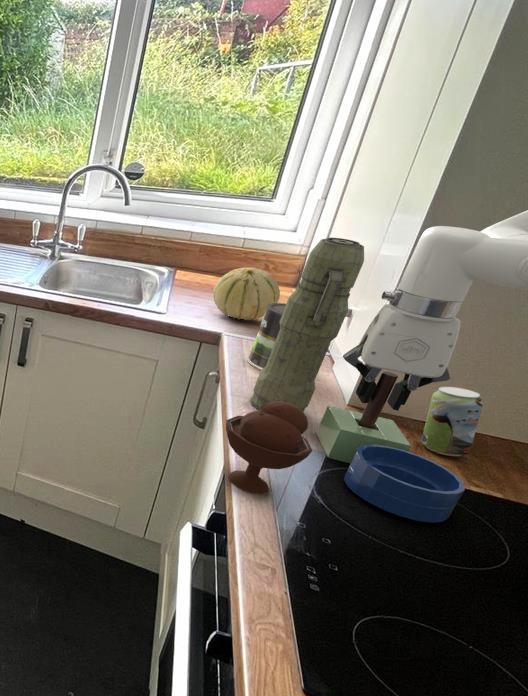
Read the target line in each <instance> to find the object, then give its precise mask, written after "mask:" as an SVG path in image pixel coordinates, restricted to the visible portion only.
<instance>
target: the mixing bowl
mask: <svg viewBox="0 0 528 696" xmlns="http://www.w3.org/2000/svg"><path fill="white" fill-rule="evenodd" d="M343 481H344V482H345V486H346V487H348V488H349V489H350V490H351V491H352V492H353V493H354V494H355V495H356V496H358V497H360V498H361V499H363V500H364V501H366V502H367V503H369V504H371V505H373V506H374V507H377V508H379V509H380V510H383V511H385V512H387V513H390V514H393V515H395V516H399V517H402V518H404V519H405V518H406V519H409V520H411V521H412V520H413V521H417V522H423V523H431V524H432V523H443V522H445V521H446V520H448V519H449V518H450V516H451V514H452V512H453V511H454V509H455V507H456V506H457V504H458V503H459V501H460V499H461V498H462V495H463V494H464V492H465V489H466V488H465V487H466V485H465V483H464V482H463V480H462V479H461V478H460V477H459V476H458V475H457V474H455V473H454V472H452V471H451V470H450V469H448V468H447V467H444V466H443V465H441V464H439V463H437V462H436V461H434V460H432V459H429V458H427V457H424V456H422V455H419V454H417V453H414V452H411V451H405V450H401V449H397V448H393V447H389V446H382V445H363V446H361V447H358V449H357V451H356V453H355V455H354V457H353V459H352V461H351V463H349V466H348V468H347V469H346V472H345V474H344V476H343Z"/></svg>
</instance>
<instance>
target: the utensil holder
mask: <svg viewBox="0 0 528 696" xmlns="http://www.w3.org/2000/svg"><path fill="white" fill-rule="evenodd" d="M362 414H363V412H359V411H355V410H354V411H353V410H349V409H345V408H339V407H335V406H331V405H327V407H326V408H325V411H324V413H323V416H322V418H321V421H320V423H319V425H318V426H317V427H318V428H317V430H316V432H315V434H316V436H317V438H318V440H319V442H320V444H321V447H322V448H323V451H324V452H325V455H326V457H327V458H328V459H332V460H335V461H339V462H343V463H347V464H350V463H351V461H352V459H353V457H354V455H355V453H356V451H357V449H358V447H361V446H363V445H382V446H389V447H393V448H397V449H401V450H405V451H408V452H410V449H411V448H412V445H411V443H410V442H409V440H408V439H407V438H406V437H405V435H404V434H403V432H402V430H401V429H400V427H398V425H397V423H395V421H394V420H393V419H389V418H385V417H381V416H379V417H378V419H377V421H376V423H375V425H374V427H373V429H370V428H366V427H361V426H359V425H358V423H359V420H360V418H361V416H362Z"/></svg>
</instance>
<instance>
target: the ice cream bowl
mask: <svg viewBox="0 0 528 696" xmlns="http://www.w3.org/2000/svg"><path fill="white" fill-rule="evenodd" d="M308 426H309V421H308V418H307V415H306V414H305V413H303V411H302V410H300V409H299V408H298V407H296V406H294V405H292V404H290V403H287V402H282V401H273V402H268V403H266V404H264V405H262V406H260V408H259V410H258V409H257V410H254V411H250V412H248V413H246V414H245V415H236V416H233V417H231V418H228V419H226V420H225V432H226V436H227V437H226V438H227V441H228V443H229V446H230V448H231V449H232V450H233V452H234V453H235V454H236V455H238V456H239V457H240V458H241V459H243V460H244V461H245V462H247V463H248V464H247V467H246V469H245V470H233V471H232V472H230V473H229V474H227V476H228V480H229V482H230V483H231V484H233V485H234V486H235V487H237V488H238V489H240V490H243V491H245V492H248V493H249V494H257V495H261V496H262V495H265V494H267V493H269V492H270V488H269V485H268V482H267V481H265V480H264V479H263V478H261V477H260V473H261V470H262V469H269V470H283V469H288V468H292V467H293V466H295V465H298V464H300V463H301V462H302V461H304V460H305V459H307V458H308V457H309V455H311V453H312V452H313V449H312V446H311V443H310V442H309V441H308V439H307V438H306V437H304V436H303V435H302V434H304V433H305V432H306V430H308Z"/></svg>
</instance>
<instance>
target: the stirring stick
mask: <svg viewBox="0 0 528 696" xmlns="http://www.w3.org/2000/svg"><path fill="white" fill-rule="evenodd" d="M398 378H399V375H398V374H396V373H394V372H392V371H387V370H386V371H381V373H380V376H379V378H378V380H377V382H376V387H375V390H374V392H373V394H372V396H371V398H370V400H369V402H368V403H366V405H365V407H364V410H363V412H362V413H363V414H362V416H361V418H360V420H359V423H358V425H359V426H361V427H366V428H370V429H373V427H374V425H375V423H376V421H377V419H378V417H380V415H381V413H382V411H383V409H384V407H385V404H386V402H387V400H388V398H389V396H390V394H391V392H392V390H393V388H394V386H395V384H396V383H397V380H398Z"/></svg>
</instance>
